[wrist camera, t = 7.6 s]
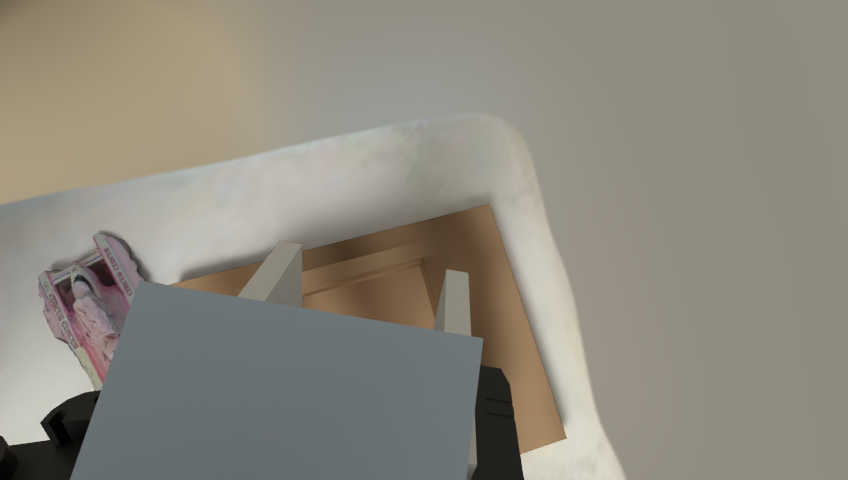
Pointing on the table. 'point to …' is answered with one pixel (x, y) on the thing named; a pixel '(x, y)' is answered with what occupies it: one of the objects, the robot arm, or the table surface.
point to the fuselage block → (278, 395)
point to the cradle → (429, 298)
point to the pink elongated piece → (92, 303)
